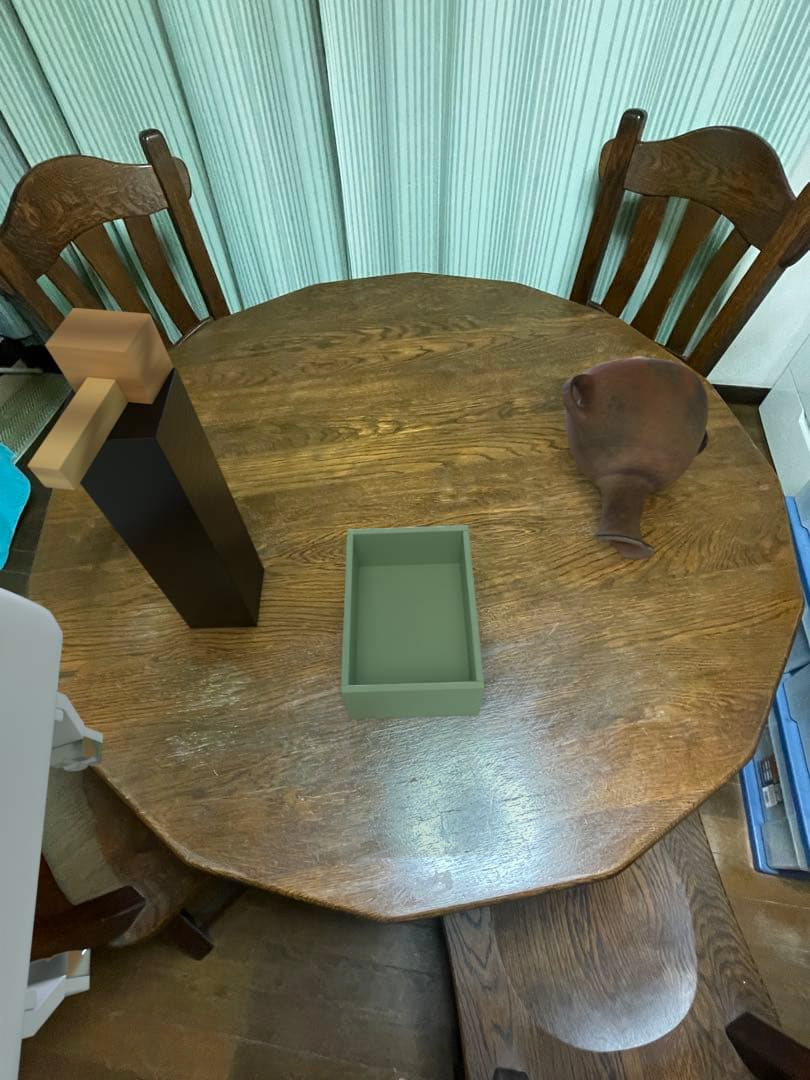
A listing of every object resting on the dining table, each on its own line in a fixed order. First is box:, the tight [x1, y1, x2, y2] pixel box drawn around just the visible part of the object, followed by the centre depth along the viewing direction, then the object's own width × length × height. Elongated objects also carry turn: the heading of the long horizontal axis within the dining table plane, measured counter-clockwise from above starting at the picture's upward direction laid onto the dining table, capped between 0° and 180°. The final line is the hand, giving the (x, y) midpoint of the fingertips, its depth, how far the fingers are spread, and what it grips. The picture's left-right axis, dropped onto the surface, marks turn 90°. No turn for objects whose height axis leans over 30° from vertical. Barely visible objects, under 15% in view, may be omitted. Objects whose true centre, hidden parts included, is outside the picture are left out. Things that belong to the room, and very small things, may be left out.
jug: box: [561, 355, 709, 561], centre depth 83 cm, size 20×20×30 cm
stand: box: [57, 366, 265, 630], centre depth 67 cm, size 9×9×36 cm
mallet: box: [27, 307, 174, 491], centre depth 48 cm, size 15×7×6 cm, turn 171°
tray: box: [340, 524, 486, 720], centre depth 74 cm, size 22×16×10 cm
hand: (84, 853), depth 28 cm, fingers open, 8 cm apart
